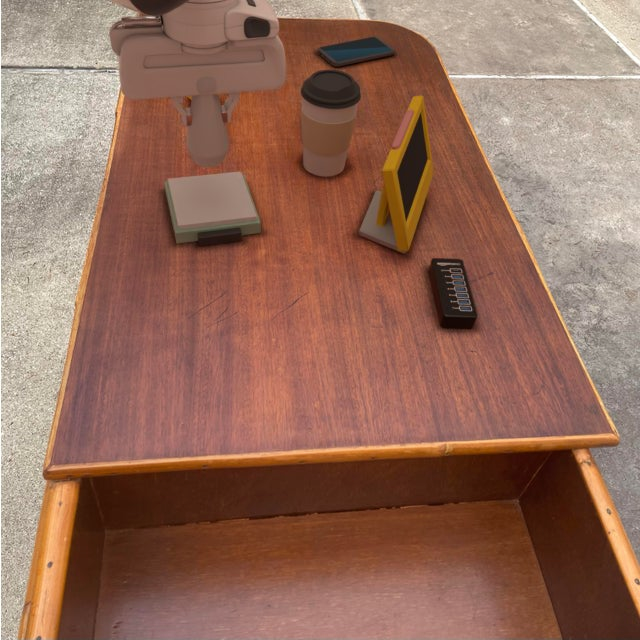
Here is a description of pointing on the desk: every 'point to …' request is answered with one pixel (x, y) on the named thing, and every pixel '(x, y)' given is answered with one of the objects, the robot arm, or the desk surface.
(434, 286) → the multiport hub
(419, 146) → the toy computer monitor
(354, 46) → the smartphone
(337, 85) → the coffee cup
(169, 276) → the desk surface
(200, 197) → the scale
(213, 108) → the salt shaker
